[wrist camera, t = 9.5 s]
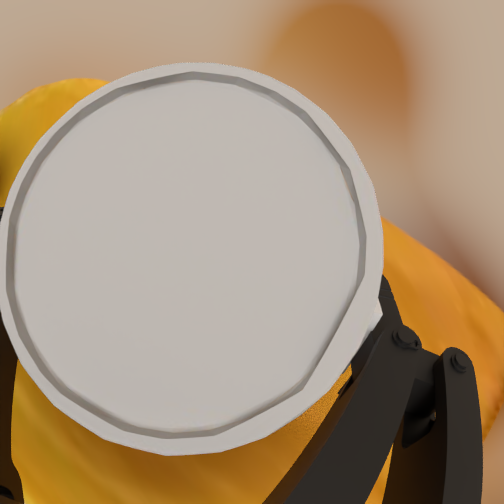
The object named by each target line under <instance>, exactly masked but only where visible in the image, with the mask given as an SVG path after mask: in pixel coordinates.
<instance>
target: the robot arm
mask: <svg viewBox="0 0 504 504" xmlns="http://www.w3.org/2000/svg"><path fill="white" fill-rule="evenodd" d="M3 211H4V207H0V222H1V218H2V215H3ZM17 361H18V356H17V354H16V352H15V349H14V347H13V345H12V342H11V340H10V338H9V335H8V333H7V330H6V328H5V325H4V323H3V319H2V314H1V310H0V504H24V498H23V490H22V483H21V479H20V476H19V473H18V471H17V469H16V468H15V466H14V464H13V462H12V457H11V418H12V402H13V391H14V382H15V374H16V367H17ZM350 364H351V369H352V375H351V376H350V378H349V379H348V380H347V381H346V383H345V384H344V385H343V387H342V388H341V389H340V390H339V392H338V394H339V396H338V397H337V399H336V401H335V402H334V404H333V406H332V407H331V409H330V411H329V412H328V414H327V416H326V417H325V419H324V420H323V422H322V423H321V425H320V427H319V428H318V430H317V431H316V433H315V434H314V436H313V437H312V439H311V440H310V442H309V443H308V445H307V446H306V447H305V449H304V450H303V452H302V453H301V455H300V456H299V457H298V459H297V460H296V461H295V463H294V464H293V466H292V467H291V468H290V470H289V471H288V472H287V473H286V475H285V476H284V477H283V479H282V480H281V481H280V482H279V484H278V485H277V486H276V487H275V489H274V490H273V491H272V492H271V494H270V495H269V496H268V497H267V498H266V500H265V501H264V502H263V503H262V504H365V502H366V500H367V498H368V496H369V494H370V492H371V490H372V489H373V487H374V485H375V482H376V480H377V478H378V476H379V474H380V472H381V470H382V468H383V465H384V463H385V461H386V459H387V456H388V454H389V452H390V449H391V447H392V444H393V449H392V456H391V462H390V468H389V473H388V478H387V483H386V488H385V493H384V497H383V501H382V504H481V495H482V477H483V449H482V448H483V447H482V428H481V416H480V406H479V398H478V390H477V384H476V377H475V372H474V367H473V364H472V361H471V360H470V358H469V357H468V355H467V354H466V353H465V352H463V351H462V350H460V349H458V348H455V347H449V348H446V350H445V351H444V352H443V353H442V354H441V355H440V356H438V355H436V354H434V353H431V352H429V351H427V350H424V349H423V348H422V344H421V341H420V339H419V337H418V336H417V335H416V333H415V332H414V331H413V330H411V329H410V328H409V327H407V326H405V325H403V323H402V320H401V317H400V314H399V311H398V308H397V305H396V302H395V300H394V296H393V294H392V292H391V288H390V285H389V283H388V280H387V279H386V278H385V277H384V276H383V274H382V277H381V283H380V289H379V295H378V300H377V304H376V307H375V310H374V312H373V315H372V318H371V320H370V323H369V325H368V328H367V330H366V333H365V335H364V338H363V340H362V342H361V345H360V347H359V349H358V350H357V352H356V353H355V355H354V356H353V358H352V359H351V360H350V362H349V363H348V365H347V366H346V368H345V369H344V371H343V372H342V373H341V374H343V373H344V372H345V371H346V369H347V368H348V366H349V365H350Z"/></svg>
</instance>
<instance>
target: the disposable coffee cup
mask: <svg viewBox="0 0 504 504" xmlns="http://www.w3.org/2000/svg"><path fill="white" fill-rule="evenodd" d="M382 271H383V229H382V224H381V219H380V214H379V209H378V204H377V199H376V195H375V190H374V186H373V184H372V182H371V180H370V178H369V176H368V174H367V172H366V170H365V168H364V166H363V164H362V162H361V160H360V158H359V156H358V154H357V152H356V151H355V149H354V147H353V145H352V143H351V142H350V141H349V139H348V138H347V137H346V136H345V134H344V133H343V132H342V131H341V130H340V128H339V127H338V126H337V125H336V124H335V123H334V121H333V120H332V119H331V118H330V117H329V116H328V115H327V113H325V112H324V111H323V110H322V109H320V108H319V107H318V106H317V105H315V104H314V103H313V102H311V101H310V100H309V99H307V98H306V97H305V96H303V95H302V94H301V93H299V92H298V91H297V90H295V89H293V88H291V87H289V86H288V85H286V84H284V83H281V82H280V81H277V80H275V79H273V78H271V77H269V76H267V75H264V74H261V73H258V72H255V71H252V70H249V69H245V68H240V67H234V66H229V65H223V64H217V63H177V64H170V65H164V66H158V67H154V68H150V69H146V70H142V71H139V72H135V73H132V74H129V75H127V76H124V77H122V78H120V79H117V80H115V81H113V82H111V83H109V84H106V85H105V86H103V87H101V88H100V89H98V90H96V91H95V92H93V93H91V94H90V95H88V96H87V97H85V98H84V99H82V100H80V101H79V102H78V103H77V104H75V105H74V106H73V107H72V108H71V109H70V110H69V111H68V112H67V113H66V114H64V115H63V116H62V117H61V118H60V119H59V120H58V121H57V122H56V123H55V124H54V125H53V126H52V127H51V128H50V129H49V130H48V131H47V132H46V133H45V134H44V135H43V136H42V137H41V138H40V139H39V141H38V142H37V144H36V145H35V147H34V148H33V149H32V151H31V152H30V154H29V155H28V157H27V158H26V160H25V161H24V163H23V165H22V167H21V169H20V171H19V173H18V174H17V176H16V178H15V180H14V182H13V185H12V187H11V189H10V191H9V194H8V197H7V200H6V204H5V207H4V211H3V215H2V218H1V222H0V310H1V314H2V319H3V323H4V325H5V328H6V330H7V333H8V335H9V338H10V340H11V342H12V345H13V347H14V349H15V352H16V354H17V356H18V358H19V360H20V362H21V364H22V366H23V367H24V368H25V370H26V371H27V373H28V374H29V375H30V377H31V378H32V379H33V380H34V382H35V383H36V384H37V386H38V387H39V388H40V389H41V391H42V392H43V393H44V394H45V395H46V397H47V398H48V399H49V400H50V401H51V403H52V404H53V405H54V406H55V407H57V408H58V409H59V410H61V411H62V412H63V413H65V414H66V415H68V416H69V417H70V418H72V419H73V420H75V421H76V422H78V423H79V424H81V425H82V426H84V427H85V428H87V429H88V430H90V431H91V432H93V433H95V434H96V435H98V436H99V437H101V438H103V439H104V440H108V441H111V442H114V443H117V444H121V445H124V446H128V447H131V448H135V449H139V450H143V451H147V452H151V453H156V454H160V455H165V456H173V455H193V454H206V453H216V452H223V451H226V450H229V449H232V448H236V447H239V446H242V445H245V444H248V443H251V442H253V441H256V440H259V439H262V438H264V437H266V436H268V435H270V434H271V433H273V432H275V431H276V430H278V429H280V428H281V427H283V426H284V425H286V424H288V423H289V422H291V421H292V420H294V419H295V418H297V417H298V416H300V415H301V414H302V413H304V412H305V411H306V410H307V409H308V408H310V407H311V406H312V405H313V404H314V403H315V402H316V401H318V400H319V399H320V398H321V397H322V396H323V395H324V394H325V393H327V392H328V391H329V390H330V388H331V387H332V386H333V384H334V383H335V382H336V380H337V379H338V377H339V376H340V375H341V373H342V372H343V371H344V369H345V368H346V366H347V365H348V363H349V362H350V360H351V359H352V358H353V356H354V355H355V353H356V352H357V350H358V349H359V347H360V345H361V342H362V340H363V338H364V335H365V333H366V330H367V328H368V325H369V323H370V320H371V318H372V315H373V312H374V310H375V307H376V304H377V300H378V295H379V289H380V283H381V277H382Z"/></svg>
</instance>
